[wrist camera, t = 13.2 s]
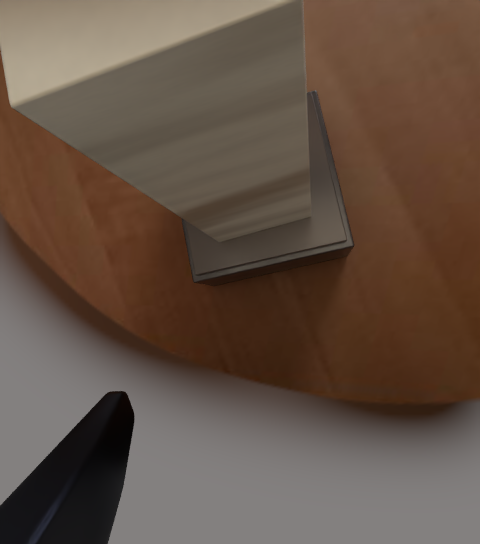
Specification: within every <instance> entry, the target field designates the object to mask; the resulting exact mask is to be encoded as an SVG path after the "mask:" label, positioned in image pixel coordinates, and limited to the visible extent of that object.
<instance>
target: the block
mask: <svg viewBox="0 0 480 544" xmlns="http://www.w3.org/2000/svg"><path fill="white" fill-rule="evenodd" d="M0 49H1V55H2V61H3V67H4V73H5V79H6V84H7V90H8V96H9V102H10V105H11V107H12V108H13V109H15V110H16V111H18V112H20V113H21V114H23V115H24V116H26V117H27V118H29V119H30V120H32V121H33V122H35V123H36V124H38V125H40V126H41V127H43V128H44V129H46V130H47V131H49V132H50V133H52V134H53V135H55V136H56V137H58V138H60V139H61V140H63V141H64V142H66V143H67V144H69V145H70V146H72V147H73V148H75V149H76V150H78V151H80V152H81V153H83V154H84V155H86V156H87V157H89V158H90V159H92V160H93V161H95V162H96V163H98V164H100V165H101V166H103V167H104V168H106V169H107V170H109V171H110V172H112V173H113V174H115V175H116V176H118V177H120V178H121V179H123V180H124V181H126V182H127V183H129V184H130V185H132V186H133V187H135V188H136V189H138V190H140V191H141V192H143V193H144V194H146V195H147V196H149V197H150V198H152V199H153V200H155V201H156V202H158V203H160V204H161V205H163V206H164V207H166V208H167V209H169V210H170V211H172V212H173V213H175V214H176V215H178V216H180V217H181V218H183V219H184V220H186V221H187V222H189V223H190V224H192V225H193V226H195V227H196V228H198V229H199V230H201V231H203V232H204V233H206V234H207V235H209V236H210V237H212V238H213V239H215V240H216V241H218V242H222V241H225V240H229V239H233V238H236V237H240V236H243V235H247V234H250V233H254V232H258V231H261V230H265V229H268V228H272V227H276V226H279V225H283V224H286V223H290V222H293V221H297V220H301V219H304V218H308V217H311V193H310V167H309V141H308V115H307V89H306V63H305V37H304V11H303V0H0Z"/></svg>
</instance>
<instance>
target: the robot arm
mask: <svg viewBox="0 0 480 544" xmlns="http://www.w3.org/2000/svg"><path fill="white" fill-rule="evenodd" d="M133 426H134V412H133V409H132V406H131V403H130V400H129V398H128V395H127V394H126V392H123V391H115V392H114V391H113V392H108V393H107V394H106V395H105V396H104V397H103V398H102V399H101V400H100V401H99V402H98V403H97V404H96V405H95V406H94V407H93V408H92V409H91V410H90V412H88V414H87V415H86V416H85V417H84V418H83V419H82V420H81V421H80V422H79V423H78V424H77V425H76V426H75V427H74V428H73V429H72V430H71V431H70V433H69V434H68V435H67V436H66V437H65V438H64V439H63V440H62V441H61V442H60V443H59V444H58V445H57V447H55V449H53V450H52V452H51V453H50V454H49V455H48V456H47V457H46V458H45V459H44V460H43V461H42V462H41V463H40V464H39V465H38V466H37V467H36V469H35V470H34V471H33V472H32V473H31V474H30V475H29V476H28V477H27V478H26V479H25V480H24V481H23V482H22V483H21V484H20V485H19V486H18V487H17V489H16V490H15V491H14V492H13V493H12V494H11V495H10V496H9V497H8V498H7V499H6V500H5V501H4V502H3V504H2V505H0V544H108V541H109V537H110V533H111V530H112V526H113V522H114V518H115V515H116V512H117V508H118V504H119V501H120V497H121V493H122V489H123V485H124V479H125V474H126V467H127V462H128V456H129V450H130V444H131V438H132V432H133Z"/></svg>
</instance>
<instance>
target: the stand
mask: <svg viewBox="0 0 480 544" xmlns="http://www.w3.org/2000/svg"><path fill="white" fill-rule="evenodd" d="M307 115H308V141H309V167H310V193H311V217H308V218H304V219H301V220H297V221H293V222H290V223H286V224H283V225H279V226H276V227H272V228H268V229H265V230H261V231H258V232H254V233H250V234H247V235H243V236H240V237H236V238H233V239H229V240H225V241H222V242H218V241H216V240H215V239H213V238H212V237H210V236H209V235H207V234H206V233H204V232H203V231H201V230H199V229H198V228H196V227H195V226H193V225H192V224H190V223H189V222H187V221H186V220H184V219H183V218H181V219H182V224H183V229H184V235H185V240H186V245H187V250H188V256H189V261H190V266H191V272H192V277H193V282H194V283H199V284H205V285H210V286H215V285H220V284H224V283H229V282H233V281H238V280H242V279H247V278H251V277H256V276H260V275H265V274H269V273H274V272H278V271H283V270H287V269H292V268H296V267H301V266H305V265H310V264H314V263H319V262H323V261H328V260H332V259H337V258H341V257H346V256H348V254H349V253H350V251H351V250H352V249H353V247H354V242H353V238H352V234H351V230H350V225H349V221H348V217H347V213H346V209H345V205H344V201H343V197H342V193H341V189H340V185H339V180H338V176H337V172H336V168H335V164H334V160H333V156H332V152H331V148H330V144H329V140H328V135H327V131H326V127H325V123H324V119H323V115H322V111H321V107H320V103H319V99H318V94H317V91H311V92H308V93H307Z"/></svg>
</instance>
